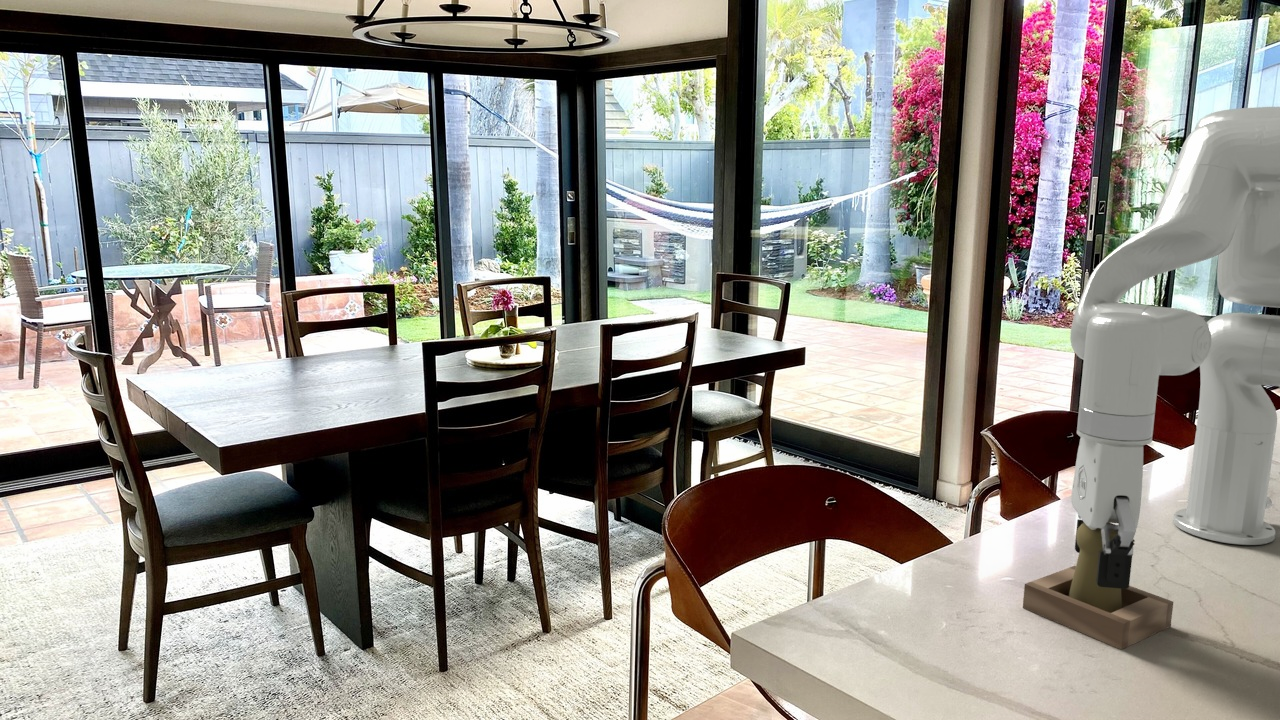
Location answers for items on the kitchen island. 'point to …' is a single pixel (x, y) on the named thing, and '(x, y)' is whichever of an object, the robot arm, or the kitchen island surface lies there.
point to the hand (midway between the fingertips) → (1100, 569)
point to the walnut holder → (1098, 611)
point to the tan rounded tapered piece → (1092, 573)
